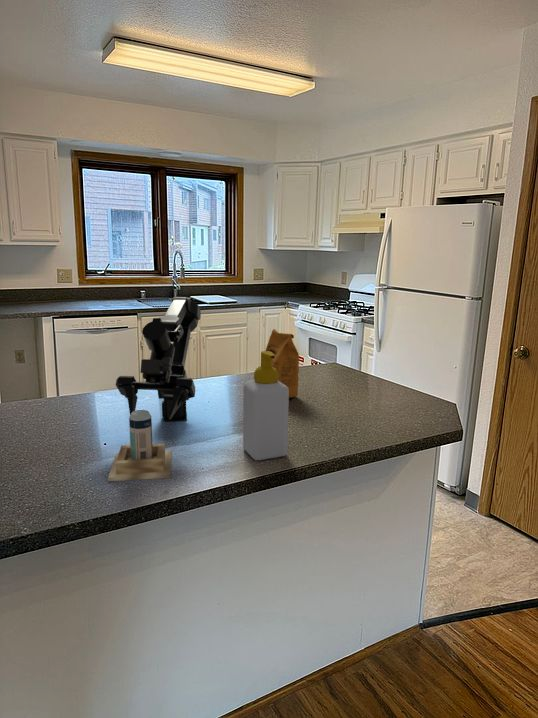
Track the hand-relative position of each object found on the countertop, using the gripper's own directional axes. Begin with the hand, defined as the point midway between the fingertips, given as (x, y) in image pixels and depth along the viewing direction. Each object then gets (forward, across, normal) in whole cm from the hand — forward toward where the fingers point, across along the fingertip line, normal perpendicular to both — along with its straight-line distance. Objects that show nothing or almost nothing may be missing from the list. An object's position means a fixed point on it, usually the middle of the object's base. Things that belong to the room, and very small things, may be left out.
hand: (150, 417), depth 120 cm
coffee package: (-29, +30, +42) cm, 59 cm away
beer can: (+11, 0, 0) cm, 11 cm away
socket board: (+12, 0, 0) cm, 12 cm away
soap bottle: (+5, +27, +8) cm, 29 cm away
